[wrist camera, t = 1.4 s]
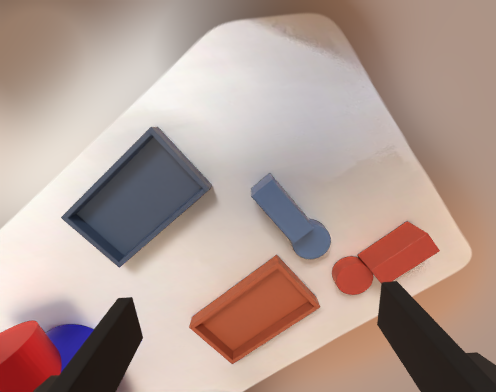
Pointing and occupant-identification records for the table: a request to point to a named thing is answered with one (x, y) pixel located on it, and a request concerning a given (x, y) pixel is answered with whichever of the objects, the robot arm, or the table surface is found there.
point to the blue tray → (137, 197)
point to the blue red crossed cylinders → (36, 353)
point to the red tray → (254, 310)
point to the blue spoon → (291, 219)
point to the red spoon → (384, 259)
